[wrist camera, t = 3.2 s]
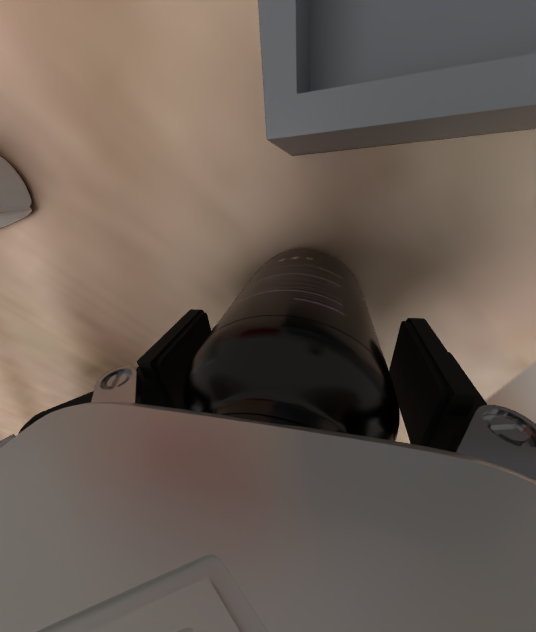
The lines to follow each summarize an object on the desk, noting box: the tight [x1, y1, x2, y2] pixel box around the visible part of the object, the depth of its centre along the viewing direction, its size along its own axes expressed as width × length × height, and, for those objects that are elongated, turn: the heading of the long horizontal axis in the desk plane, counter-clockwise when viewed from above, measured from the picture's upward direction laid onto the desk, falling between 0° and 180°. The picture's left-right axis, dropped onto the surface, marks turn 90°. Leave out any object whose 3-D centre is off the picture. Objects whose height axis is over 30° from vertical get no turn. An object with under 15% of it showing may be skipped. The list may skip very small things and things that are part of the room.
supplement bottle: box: [183, 249, 399, 441], centre depth 9 cm, size 7×7×12 cm
